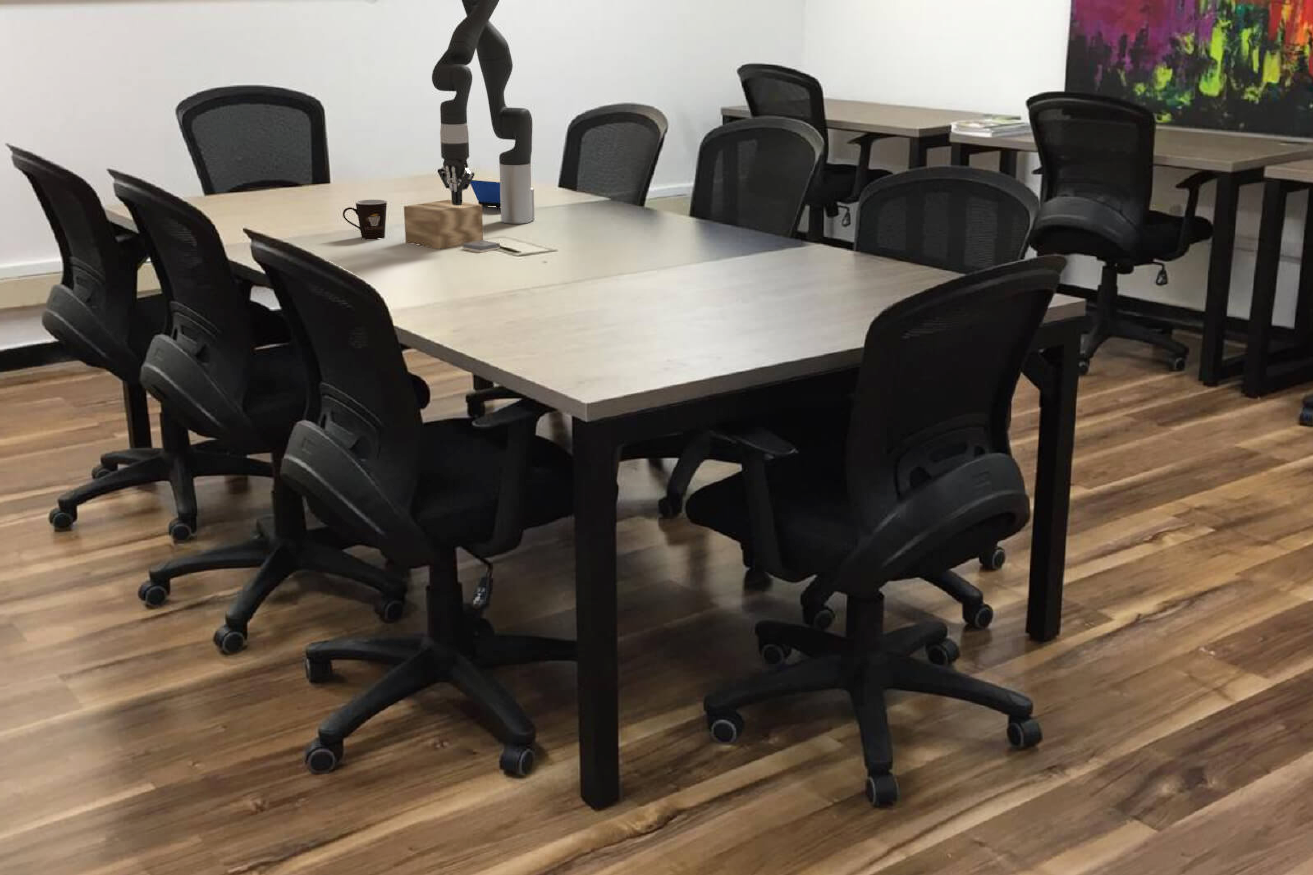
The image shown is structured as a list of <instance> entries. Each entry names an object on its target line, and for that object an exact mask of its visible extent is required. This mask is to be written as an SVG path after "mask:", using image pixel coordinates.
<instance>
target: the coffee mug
mask: <svg viewBox="0 0 1313 875" xmlns="http://www.w3.org/2000/svg"><path fill="white" fill-rule="evenodd" d="M387 206H388V201H387V200H385V199H362V200H357V201H355V207H356V208H355V207H352V206H351V207H349V206H348V207H346V208H344V209H343V212H342V217H343V219H344V220H345V221H346V222H347V223H348V224H350V225H352V226H353V227H356V228H357V229H358V230H359V231H360V236H361V239H362V238H365V239H364V240H367V239H375V240H379V239H378V238H383V239H384V238H386V220H387ZM349 210H351V211H353V212H354V213H355V214H356V215H357V219H358V225H359V226H358V225H357V224H355V223H354V222H351V221H350V220H348V218H346V215H345V214H346V212H347V211H349Z"/></svg>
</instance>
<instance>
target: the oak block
mask: <svg viewBox="0 0 1313 875" xmlns="http://www.w3.org/2000/svg"><path fill="white" fill-rule="evenodd" d="M403 215H404V216H403V217H404V233H405V234H404V237H405V243H406V244H410V243H414V244H413V245H416V244H419V245H418V246H421V245H422V247H426V246H427V248H432V249H436V248H438V250H440V248H442V249H447V248H452V247H458V246H463V243H468V242H474V241H480V240H484V228H483V227H484V225H483V222H484V221H483V207H482V205H479V204H477V203H473V202H472V203H471V202H464V201H462V205H458V206H456V205H453V204H452V199H443V200H438V201H430V202H424V203H418V204H417V203H415V204H411V205H404V206H403Z"/></svg>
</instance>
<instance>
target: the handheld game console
mask: <svg viewBox="0 0 1313 875" xmlns="http://www.w3.org/2000/svg"><path fill="white" fill-rule="evenodd" d="M470 186H471V188H472V191H473V193H474V195H475V198H476V199H477V200H476V201H477V203H478V204H479V205H482V206H496V207H501V200H500V181H488V180H478V179H477V180H475V179H472V181H471V183H470Z"/></svg>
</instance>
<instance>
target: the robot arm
mask: <svg viewBox="0 0 1313 875" xmlns="http://www.w3.org/2000/svg"><path fill="white" fill-rule="evenodd" d="M499 2H500V0H461V3H462V6H463V9H464V11H465V14H466V17H465V18H463V20H462V21H460V22H459V24H458V25H457V26H456V28H454V31H453V32H452V34H451V37H450V41H449V44H448V47H447V49H446V51H445V52H444V53H443V54H442V56H441V57H440V58H439V59H438V61H437V63H436V64H435V66H434V67H433V70H432V73H431V83H432V84H433V86H434V88H435V89H436V90H438V91H441V92H455V96H454V97H453V99H447V100H444V101H442V102H441V103H440V105H439V106H440V107H439V113H440V130H439V131H440V132H439V135H440V136H439V137H440V157H441V159H443V162H442V165H443V166H442V167H441V168H438V169H437V173H438V176H439V177H440V179H441V181H442V183H443V186H444V188H446V189H448V190H449V191H450V194H451V200H452V204H453V205H456V206H458V205H462V202H463V192H464V191H466V190H468V188H469V187H470V186H471V184H470V183H471V181H472V180H474V179H473V178H474V177H475V172H474V171H470V169H469V164H468V158H469V157H470V143H469V142H470V140H469V139H470V138H469V129H468V114H467V113H468V111H467V110H468V104H469V103H468V102H469V96H470V92H471V89H472V84H473V73H472V71H471V68H470V67H469V66H468V65H469V64H471V63H472V61H473V59H474V56H475V53H476V56H477V59H478V63H479V67H480V71H481V75H482V78H483V82H484V86H485V90H486V95H487V96H486V97H487V102H488V108H489V114H490V121H491V125H492V130H493V133H494V135H495V137H496V138H498V139H500V140H506V141H507V140H510V141H511V140H512V141H514V146H513V147H512V148H511V149H508V150H506V151H503V152H501V153H500V154H499V156H498V158H499V159H498V162H499V164H498V168H499V182H500V200H501V208H500V221H501V223H504V224H511V225H512V224H513V225H514V224H515V225H516V224H527V223H531V222H533V221H535V189H534V188H533V187H532V168H531V167H532V162H531V160H532V153H533V152H532V151H533V118H532V114H531V112H530V110H529V109H527V108H525V107H508V106H507V105H506V102H505V91H506V87H507V84H508V82H509V80H510V78H511V75H512V72H513V67H514V66H513V58H512V54H511V50H510V47H509V44H508V41H507V39H506V37H504V35H503V34H502V33H501V32H500V31H499V30H498V29H497V27H496V26H495V25H494V24H493V23H492V22H491V21H490V19H491V17H492V15H493V13H494V11H495V10H496V8H497V6H498V4H499ZM532 220H533V221H532Z"/></svg>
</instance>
